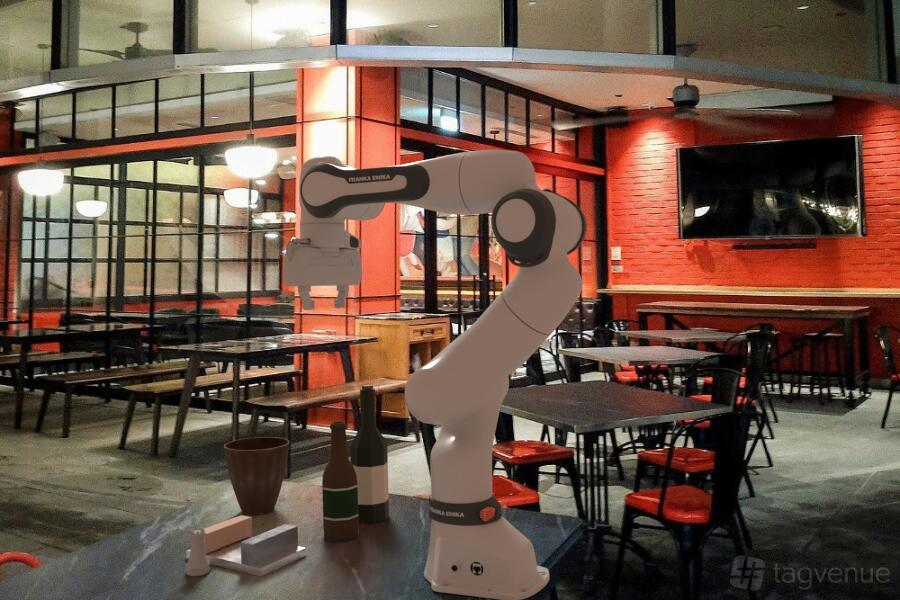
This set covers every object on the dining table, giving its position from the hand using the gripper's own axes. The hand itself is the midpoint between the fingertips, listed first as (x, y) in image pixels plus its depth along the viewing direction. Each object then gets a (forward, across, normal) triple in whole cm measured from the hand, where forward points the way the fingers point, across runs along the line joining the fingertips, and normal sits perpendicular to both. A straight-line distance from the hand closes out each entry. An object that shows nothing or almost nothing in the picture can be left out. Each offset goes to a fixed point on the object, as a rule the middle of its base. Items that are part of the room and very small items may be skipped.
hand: (324, 308), depth 150 cm
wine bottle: (+48, +19, +4) cm, 52 cm away
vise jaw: (+46, -12, +17) cm, 51 cm away
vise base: (+48, -12, +11) cm, 51 cm away
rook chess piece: (+48, -22, +13) cm, 55 cm away
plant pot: (+48, +12, +32) cm, 59 cm away
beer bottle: (+48, +6, +2) cm, 49 cm away
